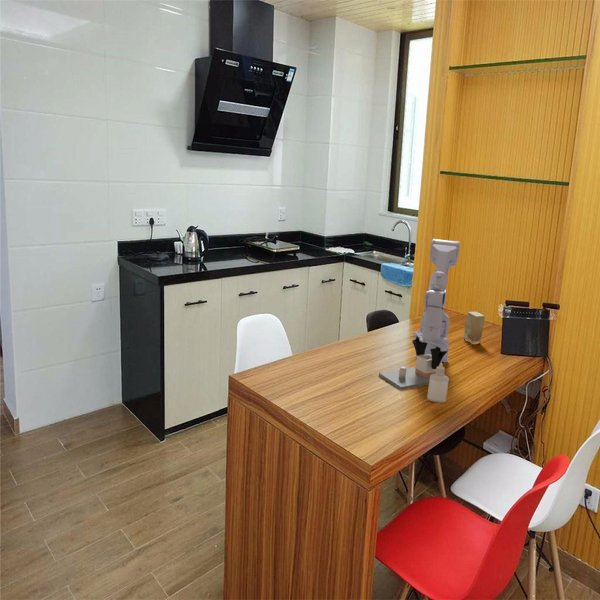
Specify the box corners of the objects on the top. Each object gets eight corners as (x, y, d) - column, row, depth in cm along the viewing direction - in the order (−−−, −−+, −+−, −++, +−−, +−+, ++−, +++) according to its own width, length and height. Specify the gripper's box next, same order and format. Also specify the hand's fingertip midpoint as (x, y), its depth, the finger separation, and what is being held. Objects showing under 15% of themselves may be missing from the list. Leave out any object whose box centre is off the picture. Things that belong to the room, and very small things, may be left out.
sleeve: (426, 370, 185) (428, 353, 184) (436, 375, 181) (438, 358, 179) (415, 372, 183) (417, 355, 181) (424, 377, 178) (426, 360, 177)
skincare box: (462, 339, 223) (466, 311, 220) (471, 339, 225) (476, 311, 222) (472, 345, 217) (476, 316, 214) (481, 344, 219) (485, 315, 216)
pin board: (425, 368, 189) (427, 356, 188) (449, 381, 179) (450, 368, 178) (378, 375, 181) (380, 363, 179) (400, 389, 170) (402, 376, 169)
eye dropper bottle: (440, 405, 161) (445, 367, 158) (424, 398, 165) (429, 362, 162) (448, 401, 164) (453, 364, 161) (432, 395, 168) (436, 359, 165)
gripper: (408, 320, 182) (404, 358, 185) (437, 333, 169) (432, 373, 173) (425, 318, 185) (420, 355, 189) (454, 331, 173) (449, 371, 176)
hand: (427, 364), depth 181 cm, fingers open, 7 cm apart
